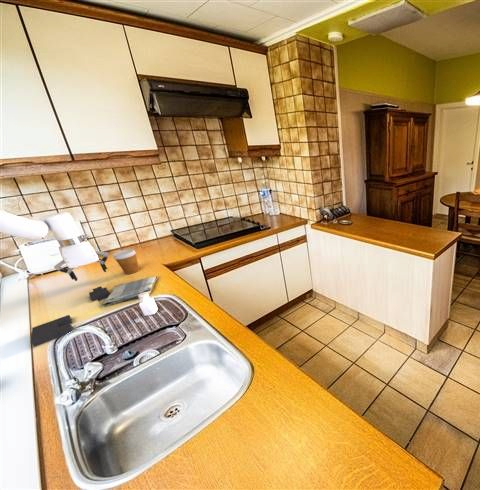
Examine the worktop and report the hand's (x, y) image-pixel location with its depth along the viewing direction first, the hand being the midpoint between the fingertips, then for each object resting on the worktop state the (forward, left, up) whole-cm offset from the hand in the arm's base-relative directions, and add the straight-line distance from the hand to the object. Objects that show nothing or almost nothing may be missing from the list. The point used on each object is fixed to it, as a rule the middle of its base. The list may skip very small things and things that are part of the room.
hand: (91, 275), depth 121 cm
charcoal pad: (-16, -20, -12) cm, 28 cm away
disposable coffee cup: (+14, +21, -12) cm, 28 cm away
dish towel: (+10, -7, -12) cm, 17 cm away
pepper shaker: (+12, -35, -12) cm, 39 cm away
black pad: (-1, +2, -12) cm, 12 cm away
